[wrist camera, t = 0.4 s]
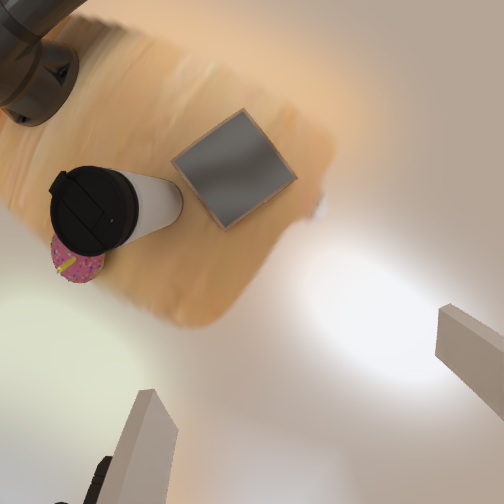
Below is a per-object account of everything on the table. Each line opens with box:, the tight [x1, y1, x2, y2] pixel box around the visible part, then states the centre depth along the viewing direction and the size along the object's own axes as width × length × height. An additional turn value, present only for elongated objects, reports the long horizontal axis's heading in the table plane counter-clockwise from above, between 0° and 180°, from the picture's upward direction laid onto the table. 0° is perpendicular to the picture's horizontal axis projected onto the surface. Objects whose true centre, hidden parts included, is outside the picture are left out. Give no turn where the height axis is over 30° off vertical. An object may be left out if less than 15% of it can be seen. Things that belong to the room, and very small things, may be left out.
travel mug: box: [49, 166, 183, 257], centre depth 25 cm, size 6×7×20 cm
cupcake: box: [51, 233, 106, 283], centre depth 30 cm, size 9×8×12 cm
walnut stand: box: [170, 108, 298, 233], centre depth 32 cm, size 10×10×6 cm
